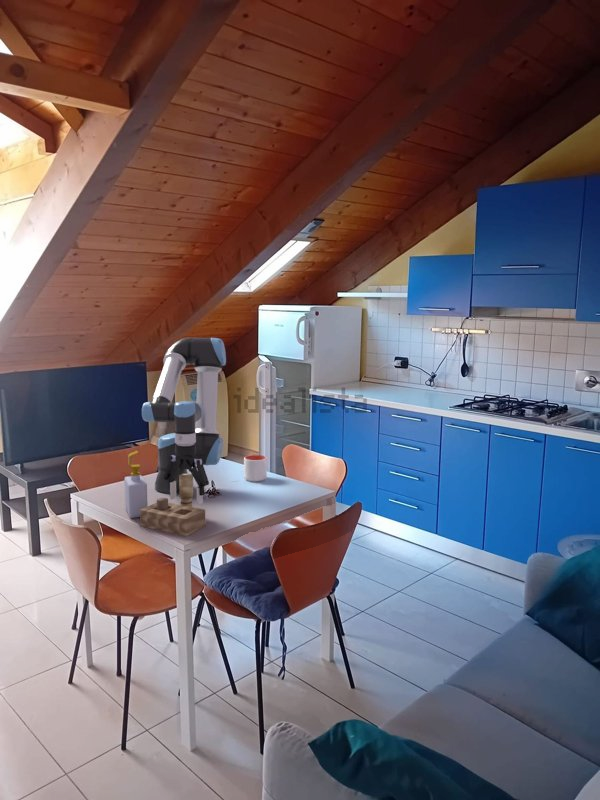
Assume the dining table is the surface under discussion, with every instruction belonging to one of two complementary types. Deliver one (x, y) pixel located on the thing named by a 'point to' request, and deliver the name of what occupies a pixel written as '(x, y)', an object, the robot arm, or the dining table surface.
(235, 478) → the dining table surface
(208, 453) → the robot arm
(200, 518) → the block
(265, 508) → the dining table surface
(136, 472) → the soap bottle
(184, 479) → the leg
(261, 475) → the cup
